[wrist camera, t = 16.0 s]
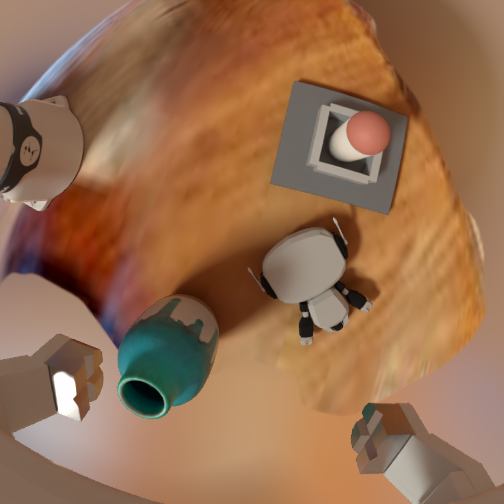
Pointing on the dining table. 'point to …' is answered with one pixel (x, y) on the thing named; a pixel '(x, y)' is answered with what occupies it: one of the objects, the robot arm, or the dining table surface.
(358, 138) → the pink-topped post
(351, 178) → the jig
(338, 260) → the robot toy
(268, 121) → the dining table surface
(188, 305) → the vase
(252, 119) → the dining table surface
